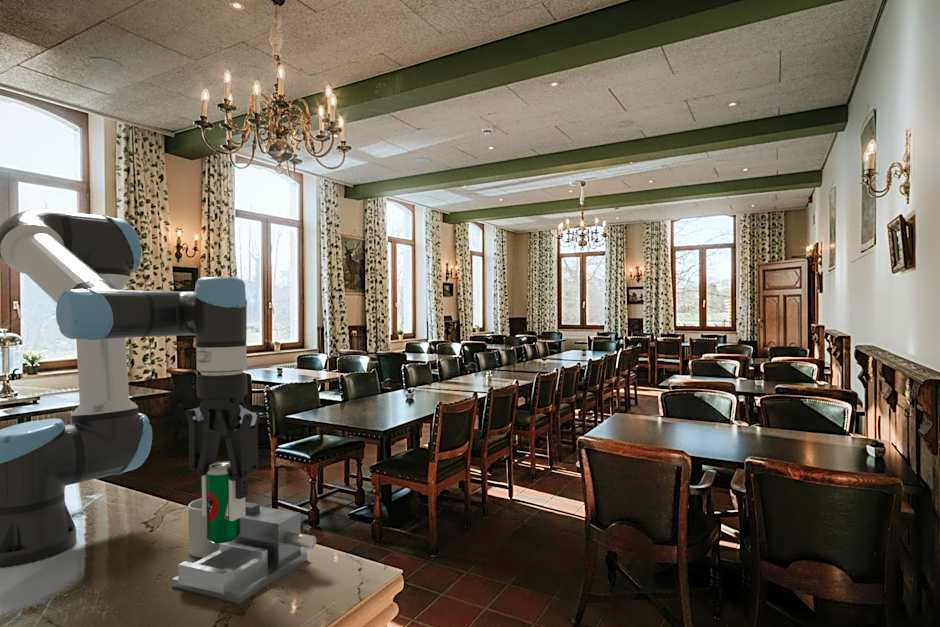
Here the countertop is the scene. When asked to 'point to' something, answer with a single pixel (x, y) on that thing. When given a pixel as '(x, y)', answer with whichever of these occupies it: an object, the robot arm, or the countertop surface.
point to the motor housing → (249, 556)
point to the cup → (199, 532)
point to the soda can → (219, 504)
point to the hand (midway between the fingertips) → (223, 515)
